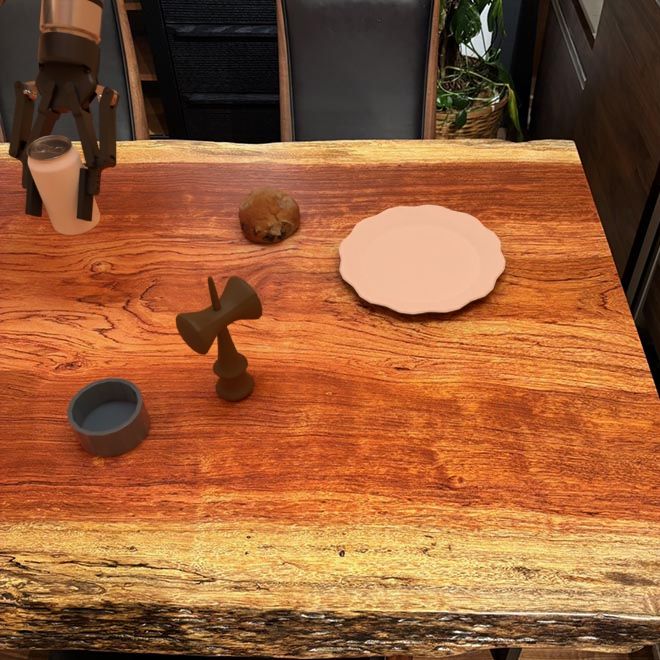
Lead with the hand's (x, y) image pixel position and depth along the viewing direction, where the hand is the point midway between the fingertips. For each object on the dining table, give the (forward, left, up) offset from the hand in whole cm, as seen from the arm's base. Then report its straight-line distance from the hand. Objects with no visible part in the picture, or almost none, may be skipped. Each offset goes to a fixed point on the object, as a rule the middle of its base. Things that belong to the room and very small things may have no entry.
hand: (58, 217), depth 106 cm
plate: (+41, +28, -17) cm, 52 cm away
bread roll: (+15, +27, -17) cm, 35 cm away
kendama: (+28, -5, -17) cm, 33 cm away
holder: (+17, -17, -16) cm, 29 cm away
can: (-1, +3, -4) cm, 5 cm away
